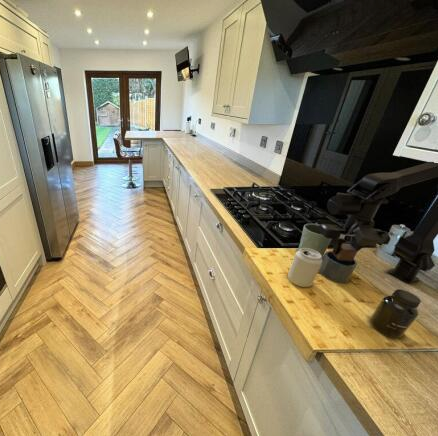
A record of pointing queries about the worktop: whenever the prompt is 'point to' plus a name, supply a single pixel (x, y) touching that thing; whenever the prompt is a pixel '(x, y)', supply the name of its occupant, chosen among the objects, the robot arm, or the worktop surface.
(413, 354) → the worktop surface
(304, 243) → the green tapered tumbler
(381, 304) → the supplement bottle
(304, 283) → the can
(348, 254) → the brown cube
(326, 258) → the cup
